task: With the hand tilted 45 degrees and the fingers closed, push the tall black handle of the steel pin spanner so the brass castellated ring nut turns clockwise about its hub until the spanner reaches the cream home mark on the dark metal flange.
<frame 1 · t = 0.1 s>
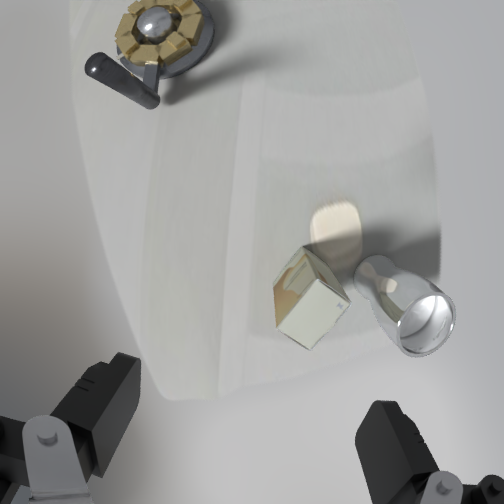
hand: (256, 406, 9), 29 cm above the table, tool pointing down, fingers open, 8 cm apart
beer glass: (374, 276, 38), on the table
skincare box: (299, 274, 39), on the table
flange: (165, 37, 32), on the table
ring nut: (134, 27, 24), point 9 cm above the table, hinge at 0.0°
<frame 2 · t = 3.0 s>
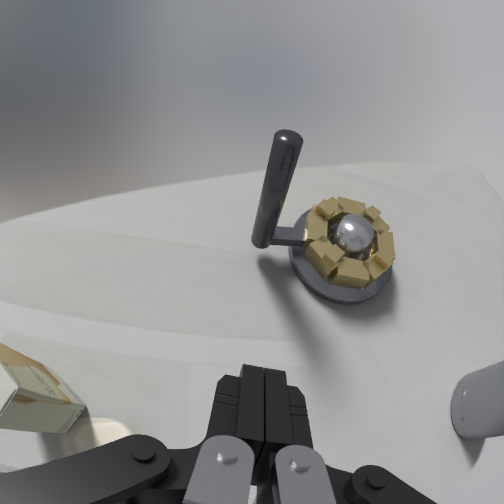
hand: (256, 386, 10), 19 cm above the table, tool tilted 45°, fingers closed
skincare box: (56, 399, 24), on the table
flange: (340, 254, 37), on the table
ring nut: (344, 202, 29), point 9 cm above the table, hinge at 0.0°
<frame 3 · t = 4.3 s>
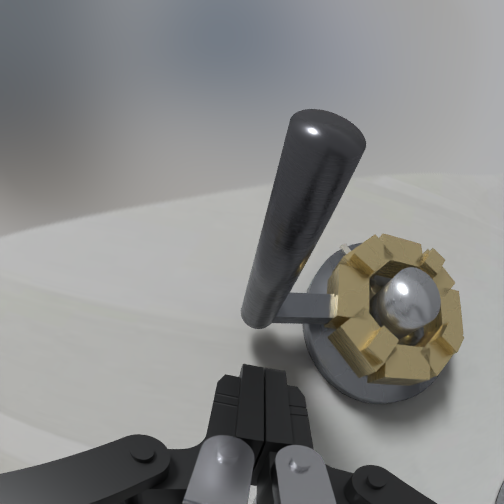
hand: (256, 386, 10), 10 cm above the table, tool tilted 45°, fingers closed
flange: (380, 322, 22), on the table
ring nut: (410, 259, 15), point 9 cm above the table, hinge at 0.0°
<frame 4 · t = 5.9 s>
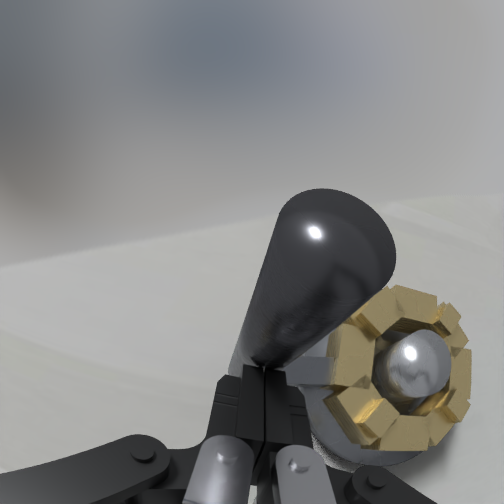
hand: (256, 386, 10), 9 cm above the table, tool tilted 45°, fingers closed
flange: (382, 378, 19), on the table
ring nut: (425, 337, 12), point 9 cm above the table, hinge at 3.3°, touching gripper
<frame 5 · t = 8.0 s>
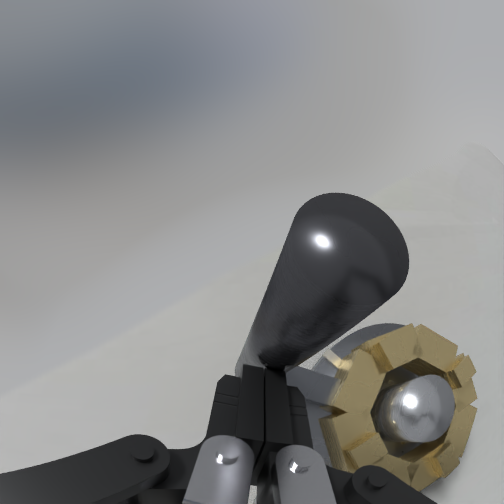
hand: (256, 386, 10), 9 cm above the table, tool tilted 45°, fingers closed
flange: (383, 414, 18), on the table
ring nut: (432, 380, 11), point 9 cm above the table, hinge at 38.0°, touching gripper
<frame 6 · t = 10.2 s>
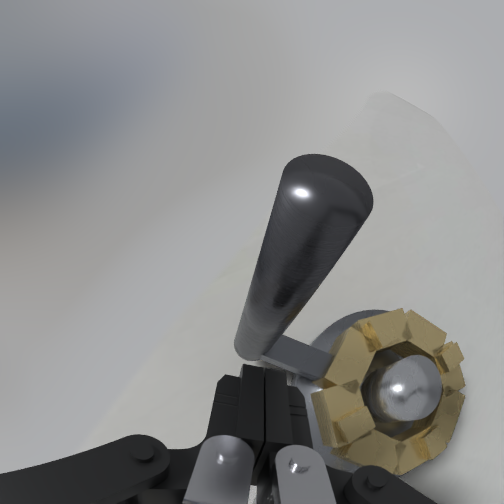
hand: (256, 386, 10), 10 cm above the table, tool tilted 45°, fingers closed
flange: (374, 398, 19), on the table
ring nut: (416, 351, 12), point 9 cm above the table, hinge at 63.3°
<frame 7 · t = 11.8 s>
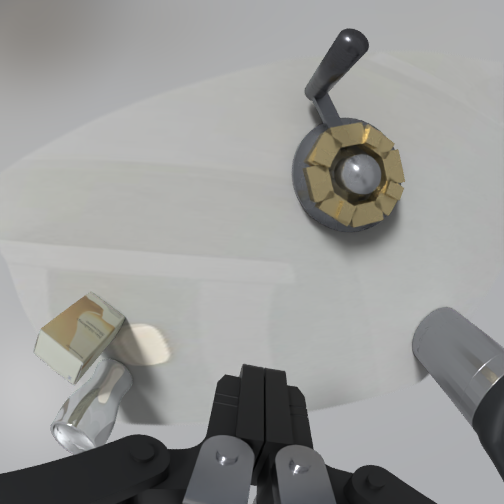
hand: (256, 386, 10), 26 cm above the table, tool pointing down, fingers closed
beer glass: (115, 374, 40), on the table
skincare box: (102, 313, 38), on the table
flange: (346, 174, 34), on the table
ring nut: (368, 143, 25), point 9 cm above the table, hinge at 63.3°
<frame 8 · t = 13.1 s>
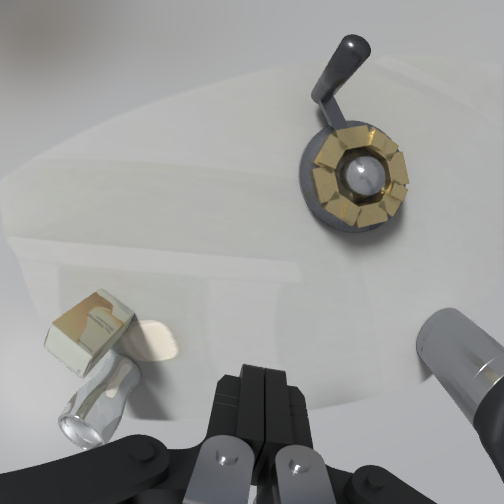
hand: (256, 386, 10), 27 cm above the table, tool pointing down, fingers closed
beer glass: (123, 369, 42), on the table
skincare box: (112, 309, 40), on the table
flange: (352, 176, 34), on the table
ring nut: (372, 145, 25), point 9 cm above the table, hinge at 63.3°
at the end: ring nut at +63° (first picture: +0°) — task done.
